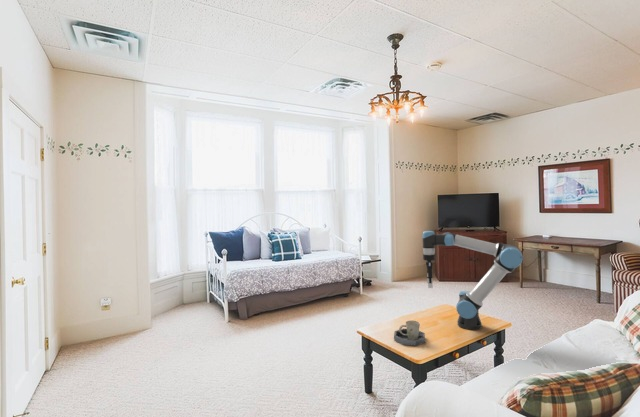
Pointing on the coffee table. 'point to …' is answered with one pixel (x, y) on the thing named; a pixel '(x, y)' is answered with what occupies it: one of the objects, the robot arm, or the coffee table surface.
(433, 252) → the robot arm
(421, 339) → the gray octagonal container
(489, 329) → the coffee table surface
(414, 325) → the mug
